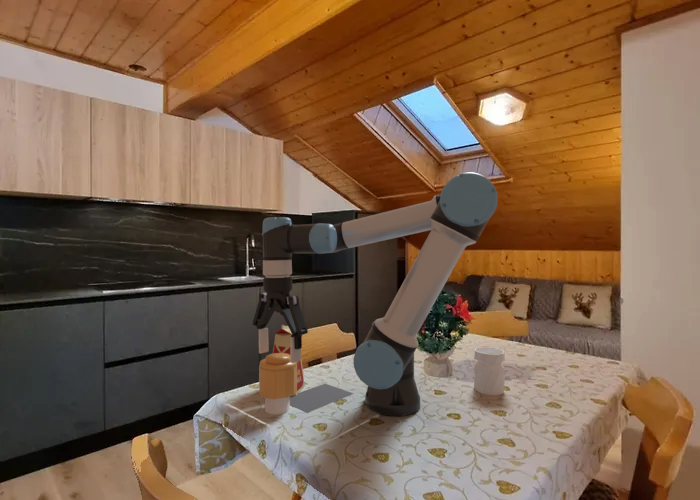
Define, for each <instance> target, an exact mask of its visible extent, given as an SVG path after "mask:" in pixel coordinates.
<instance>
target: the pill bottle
mask: <svg viewBox="0 0 700 500" xmlns="http://www.w3.org/2000/svg"><path fill="white" fill-rule="evenodd" d="M473 358H474V359H475V361H476V362H475V363H474V364H473V371H474V377H473V378H474V379H473V381H474V382H473V387H474V390H475V391H476V392H477V391H478V392H477V393H480V394H483V395H488V396H500V395H503V394H504V392H505V366H504V365H502V363H503V362H505V351H504V350H502V349H500V348H497V347H489V346H479V347H475V348H474V357H473Z"/></svg>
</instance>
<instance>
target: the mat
mask: <svg viewBox="0 0 700 500" xmlns="http://www.w3.org/2000/svg"><path fill="white" fill-rule="evenodd" d="M353 394H354V393H353V392H350V391H348V390H345V389H342V388H340V387H336V386H334V385H331V384H328V383H323V384H319V385H317V386H315V387H312V388H308V389H306V390H303V391H300V392H299V393H298V394H297V395H296V396H290V407H294V408H295V409H297V410H301V411H303V412H305V413H307V414H308V413H312V411H313V412H314V411H315V410H318V409H320V408H323V407H325V406H327V405H330V404H332V403H334V402H337V401H339V400H343V399H344V398H347V397H349V396H352V395H353Z"/></svg>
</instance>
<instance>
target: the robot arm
mask: <svg viewBox="0 0 700 500" xmlns="http://www.w3.org/2000/svg"><path fill="white" fill-rule="evenodd" d="M497 191H498V190H497V189H496V186H495V185H494V184H493V182H492V181H491V180H490V179H489V178H488V177H486V176H484V175H483V174H480V173H478V172H477V173H476V172H472V171H471V172H462V173H460V174H459V173H458V174H457V175H455V176H453V177H452V178H450V179H449V180H448V181H447V182H446V184H445V185H444V186H443V188H442V189H441V192H440V194H436V195H434V196H433V198H432V199H431V200H428V201H425V202H420V203H416V204H412V205H408V206H404V207H399V208H396V209H392V210H387V211H384V212H380V213H376V214H373V215H368V216H363V217H360V218H355V219H352V220H347V221H343V222H339V223H334V224H331V223H321V222H318V223H308V224H305V223H304V224H293V223H292V219H291V218H290V217H285V216H283V217H282V216H278V217H276V216H273V217H272V216H271V217H270V216H269V217H266V218H264V219H263V220H262V233H261V237H262V256H263V257H262V259H263V260H262V275H263V276H264V277H263V281H262V283H263V284H262V285H263V286H262V287H263V288H262V289H263V291H264V292H262V293H261V292H260V293H258V294H259V295H258V302H257V306H256V309H255V313H254V316H253V321H252V325H253V326H255V327H256V329H257V338H258V354H263V353H268V352H269V350H270V347H269V345H270V343H269V341H270V340H269V328H268V327H269V326H268V324H269V322H270V321H271V318H272V317H273V315H274V313H279V314H280V315H281V316H282V317H283V318H284V321H285V323H286V326H288V327H289V329H290V331H291V333H292V335H291V336H290V348H291V363H294V362H298V361H301V360H302V347H303V344H302V343H303V342H302V341H303V340H302V338H303V335H306V334H308V333H309V330H308V327H307V324H306V321H305V317H304V315H303V312H302V309H301V306H300V298H299V295H292V296H291V291H292V290H293V278H292V274H293V266H292V264H293V263H292V261H293V260H292V259H293V257H292V256H293V254H317V255H318V254H319V255H321V254H334V253H338V252H340V251H344V250H347V249H351V248H356V247H360V246H365V245H368V244H374V243H378V242H382V241H387V240H392V239H396V238H397V239H398V238H401V237H405V236H406V237H407V236H409V235H414V234H419V233H423V232H424V233H425V232H428V231H429V233H428V235H427V238H426V239H425V241H424V243H423V245H422V246H421V248H420V251H419V252H418V253H417V256H416V257H415V259H414V261H413V263H412V265H411V267H410V269H409V270H408V272H407V274H406V277H405V278H404V280H403V282H402V284H401V285H400V288H399V289H398V291H397V293H396V295H395V296H394V298H393V300H392V302H391V304H390V306H389V308H388V309H387V312H386V313H385V315H384V316H383V317H380V318H377V319H375V320H374V321H373V322H372V323H371V328H370V330H369V331H368V334H367V335H366V336H365V339H364V340H363V342H361V344H360V345H358V346H357V348H356V350H355V352H354V356H353V360H352V361H353V368H354V371H355V374H356V376H357V378H359V380H360V381H361V382H363V384H364V385H366V386H367V389H366V392H365V395H364V396H365V397H364V405H365V406H366V408H368V409H369V410H371V411H372V412H375V413H377V414H380V415H382V416H383V415H384V416H392V417H394V416H395V417H396V416H397V417H399V416H407V415H411V414H414V413H416V412H418V411H419V410H420V409H421V395H420V393H419V389H418V386H417V382H416V379H415V352H416V350H417V348H418V346H419V342H418V338H417V336H418V335H417V334H418V333H419V331H420V329H421V328H422V326H423V324H424V322H425V320H426V319H427V317H428V315H429V314H430V311H431V310H432V308H433V306H434V305H435V302H436V301H437V298H438V297H439V296H440V294H441V292H442V290H443V288H444V287H445V284H446V283H447V281H448V279H449V278H450V276H451V274H452V272H453V270H454V268H455V267H456V265H457V263H458V261H459V260H460V257H461V256H462V255H463V252H464V251H465V249H466V248H467V246H471V245H474V244H476V243H477V242H478V240H479V238H480V237H481V235H482V233H483V231H484V230H485V227H486V226H487V224H488V222H489V221H490V219H491V218H492V217H493V215H494V214H495V212H496V210H497V207H498V203H499V194H498V192H497Z"/></svg>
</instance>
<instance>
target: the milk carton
mask: <svg viewBox="0 0 700 500" xmlns="http://www.w3.org/2000/svg"><path fill="white" fill-rule="evenodd" d="M280 326H281V329H279V330H278V331H277V332H276V333H275V334H274V335H275V336H274V342H273V349H272V352H271V354H274V353H286V354H289V355H290V357H291V348H290V336H291V335H292V333H291V331H290V329H289V327H288V325H284V324H281V325H280ZM305 387H306V385H305V376H304V369H303V361H302V359H301V361H298V362H297V392H296V393H295V394H294V395H292V396H296V395H297V394H298V393H300V392H302V390H303V389H304V388H305Z"/></svg>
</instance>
